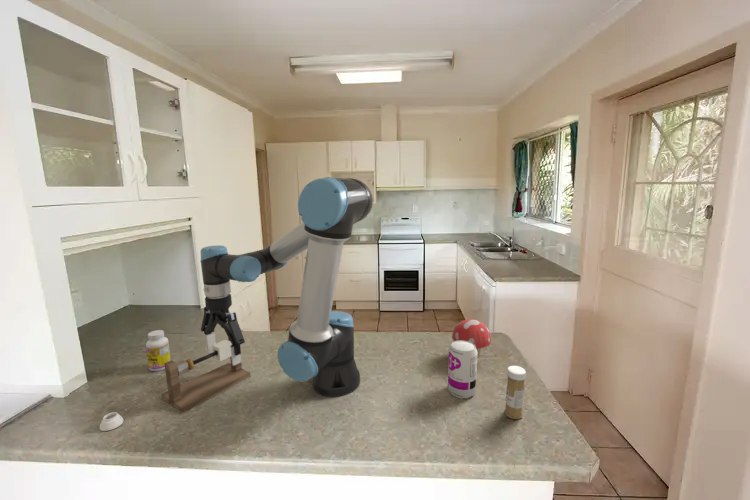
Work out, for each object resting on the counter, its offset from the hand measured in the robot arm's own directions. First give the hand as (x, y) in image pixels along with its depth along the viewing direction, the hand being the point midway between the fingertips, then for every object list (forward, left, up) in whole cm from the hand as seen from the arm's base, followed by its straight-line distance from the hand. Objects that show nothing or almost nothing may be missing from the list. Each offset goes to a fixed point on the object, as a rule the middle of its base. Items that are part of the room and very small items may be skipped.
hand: (224, 357), depth 112 cm
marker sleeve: (0, 0, +1) cm, 1 cm away
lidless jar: (+5, +30, -8) cm, 31 cm away
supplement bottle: (+26, +8, -7) cm, 28 cm away
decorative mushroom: (-63, -55, -7) cm, 84 cm away
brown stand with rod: (0, +6, -7) cm, 9 cm away
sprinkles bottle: (-83, -32, -7) cm, 89 cm away
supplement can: (-67, -35, -7) cm, 76 cm away
